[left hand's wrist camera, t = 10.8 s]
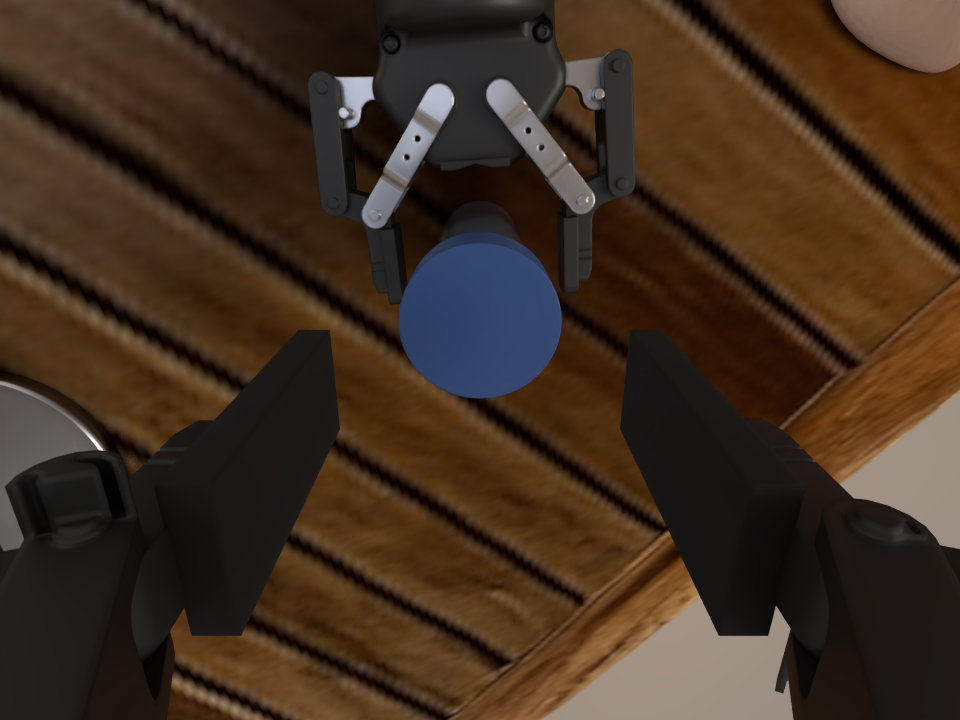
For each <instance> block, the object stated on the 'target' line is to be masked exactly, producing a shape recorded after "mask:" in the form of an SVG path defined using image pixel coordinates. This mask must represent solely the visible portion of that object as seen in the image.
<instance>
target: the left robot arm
mask: <svg viewBox="0 0 960 720" xmlns="http://www.w3.org/2000/svg"><path fill="white" fill-rule="evenodd" d="M339 430H340V425H339V415H338V406H337V396H336V387H335V377H334V368H333V358H332V348H331V339H330V330H298V331H297V332H296V333H295V334H294V335H293V337H292V338H291V339H290V340H289V341H288V342H287V343H286V344H285V345H284V346H283V347H282V348H281V349H280V350H279V352H278V353H277V354H276V355H275V356H274V357H273V358H272V359H271V360H270V361H269V362H268V363H267V364H266V366H265V367H264V368H263V369H262V370H261V371H260V372H259V373H258V374H257V375H256V376H255V377H254V378H253V379H252V381H251V382H250V383H249V384H248V385H247V386H246V387H245V388H244V389H243V390H242V391H241V392H240V393H239V395H238V396H237V397H236V398H235V399H234V400H233V401H232V402H231V403H230V404H229V405H228V406H227V407H226V408H225V410H224V411H223V412H222V413H221V414H220V415H219V416H218V417H217V418H216V419H215V420H199V421H197V422H196V423H194V424H192V425H190V426H188V427H186V428H185V429H183V430H181V431H179V432H177V433H176V434H175V435H173V436H172V437H171V438H170V439H169V440H168V441H167V442H166V443H165V444H164V445H163V446H162V447H161V448H160V451H157V452H156V453H155V454H154V455H153V456H152V457H151V458H150V459H149V460H148V461H147V464H144V465H143V466H142V467H141V468H140V469H139V470H138V471H137V472H136V473H135V474H134V475H133V476H132V477H131V478H130V479H129V478H128V473H127V470H126V467H125V464H124V461H123V457H121V455H120V453H119V451H118V449H117V447H116V446H115V444H114V443H113V441H112V440H111V438H110V437H109V435H108V434H107V433H106V432H105V430H104V429H103V428H102V427H101V426H100V425H99V424H98V422H97V421H96V420H95V419H94V418H93V417H92V416H90V415H89V414H88V413H87V412H86V411H85V410H84V409H82V408H81V407H80V406H78V405H77V404H76V403H74V402H73V401H71V400H70V399H69V398H67V397H66V396H64V395H62V394H60V393H59V392H57V391H55V390H53V389H51V388H49V387H47V386H45V385H43V384H40V383H37V382H35V381H32V380H29V379H26V378H23V377H20V376H16V375H11V374H7V373H0V720H167V713H168V705H169V697H170V689H171V682H172V674H173V666H174V658H175V652H174V645H173V641H172V637H171V633H170V630H171V628H172V627H173V625H174V623H175V622H176V620H177V619H178V617H179V615H180V614H181V612H182V611H183V609H184V607H185V611H186V615H187V619H188V623H189V627H190V631H191V635H192V636H241V635H242V633H243V631H244V629H245V627H246V624H247V622H248V620H249V618H250V616H251V614H252V612H253V610H254V608H255V606H256V604H257V601H258V599H259V597H260V595H261V593H262V591H263V589H264V587H265V585H266V583H267V580H268V578H269V576H270V574H271V572H272V570H273V568H274V566H275V564H276V562H277V560H278V557H279V555H280V553H281V551H282V549H283V547H284V545H285V543H286V541H287V539H288V536H289V534H290V532H291V530H292V528H293V526H294V524H295V522H296V520H297V518H298V516H299V513H300V511H301V509H302V507H303V505H304V503H305V501H306V499H307V497H308V495H309V492H310V490H311V488H312V486H313V484H314V482H315V480H316V478H317V476H318V474H319V472H320V469H321V467H322V465H323V463H324V461H325V459H326V457H327V455H328V453H329V451H330V448H331V446H332V444H333V442H334V440H335V438H336V436H337V434H338V432H339ZM620 430H621V432H622V434H623V436H624V438H625V440H626V442H627V444H628V446H629V448H630V451H631V453H632V455H633V457H634V459H635V461H636V463H637V465H638V467H639V469H640V472H641V474H642V476H643V478H644V480H645V482H646V484H647V486H648V488H649V490H650V492H651V495H652V497H653V499H654V501H655V503H656V505H657V507H658V509H659V511H660V513H661V516H662V518H663V520H664V522H665V524H666V526H667V528H668V530H669V532H670V534H671V536H672V539H673V541H674V543H675V545H676V547H677V549H678V551H679V553H680V555H681V557H682V560H683V562H684V564H685V566H686V568H687V570H688V572H689V574H690V576H691V578H692V580H693V583H694V585H695V587H696V589H697V591H698V593H699V595H700V597H701V599H702V601H703V604H704V606H705V608H706V610H707V612H708V614H709V616H710V618H711V620H712V622H713V624H714V627H715V629H716V631H717V633H718V635H719V636H768V634H769V630H770V627H771V623H772V619H773V615H774V611H775V607H776V606H777V608H778V609H779V611H780V612H781V614H782V616H783V617H784V619H785V620H786V622H787V623H788V625H789V627H790V628H791V630H790V633H789V637H788V641H787V644H786V648H785V652H784V655H783V659H782V663H781V667H780V670H779V674H778V677H777V682H776V688H775V691H777V692H781V693H784V689H785V686H786V682H787V681H788V680H789V688H790V695H791V703H792V711H793V719H794V720H960V549H956V548H951V547H946V546H941V545H939V543H938V541H937V539H936V538H935V537H934V535H933V534H932V533H931V532H930V531H929V530H928V528H927V527H926V526H924V525H923V524H921V523H920V522H918V521H917V520H916V519H914V518H913V517H911V516H910V515H908V514H906V513H904V512H901V511H899V510H897V509H895V508H892V507H890V506H888V505H884V504H880V503H877V502H873V501H869V500H863V499H854V498H853V497H852V496H851V495H850V494H849V493H848V492H847V491H846V490H845V489H844V488H842V487H841V486H840V485H839V484H838V483H837V482H836V481H835V480H834V479H833V478H832V477H831V476H830V475H829V474H828V473H827V472H826V471H825V470H824V469H823V468H822V467H821V466H820V465H819V464H818V463H817V462H813V458H812V457H811V456H810V455H809V454H807V453H806V452H805V451H804V450H803V449H800V446H799V445H798V444H797V443H796V442H795V441H794V440H793V439H792V438H791V437H790V436H789V435H788V434H787V433H786V432H785V431H783V430H781V429H779V428H778V427H776V426H774V425H772V424H770V423H768V422H766V421H765V420H763V419H744V418H743V417H742V416H741V415H740V414H739V413H738V412H737V411H736V410H735V408H734V407H733V406H732V405H731V404H730V403H729V402H728V401H727V400H726V399H725V398H724V397H723V396H722V395H721V393H720V392H719V391H718V390H717V389H716V388H715V387H714V386H713V385H712V384H711V383H710V382H709V381H708V379H707V378H706V377H705V376H704V375H703V374H702V373H701V372H700V371H699V370H698V369H697V368H696V367H695V366H694V364H693V363H692V362H691V361H690V360H689V359H688V358H687V357H686V356H685V355H684V354H683V353H682V352H681V350H680V349H679V348H678V347H677V346H676V345H675V344H674V343H673V342H672V341H671V340H670V339H669V338H668V337H667V335H666V334H665V333H664V332H663V331H662V330H630V339H629V348H628V358H627V368H626V377H625V387H624V396H623V406H622V415H621V425H620Z"/></svg>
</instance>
